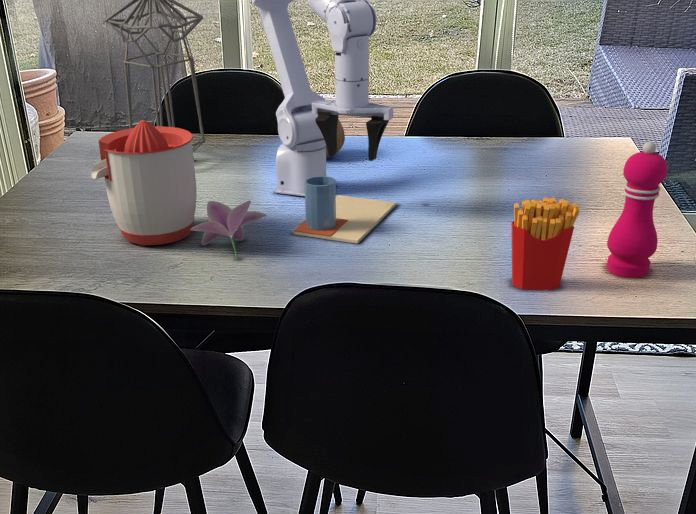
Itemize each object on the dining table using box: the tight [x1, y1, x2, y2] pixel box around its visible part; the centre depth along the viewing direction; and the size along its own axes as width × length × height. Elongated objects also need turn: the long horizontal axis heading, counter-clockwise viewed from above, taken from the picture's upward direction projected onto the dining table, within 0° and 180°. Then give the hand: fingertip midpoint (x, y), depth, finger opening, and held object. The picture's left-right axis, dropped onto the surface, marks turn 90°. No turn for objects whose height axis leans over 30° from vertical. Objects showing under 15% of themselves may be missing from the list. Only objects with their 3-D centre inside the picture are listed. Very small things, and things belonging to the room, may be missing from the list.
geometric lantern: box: [102, 0, 206, 160], centre depth 172 cm, size 16×16×35 cm
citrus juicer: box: [91, 119, 198, 247], centre depth 140 cm, size 16×17×20 cm
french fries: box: [510, 196, 581, 291], centre depth 122 cm, size 9×4×13 cm, turn 85°
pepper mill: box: [605, 141, 668, 279], centre depth 124 cm, size 7×7×20 cm
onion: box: [326, 118, 346, 160], centre depth 180 cm, size 10×10×10 cm
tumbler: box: [304, 175, 337, 230], centre depth 144 cm, size 5×5×8 cm
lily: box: [190, 200, 267, 260], centre depth 136 cm, size 12×12×10 cm
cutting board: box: [292, 194, 397, 245], centre depth 150 cm, size 12×20×1 cm, turn 157°
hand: (352, 157), depth 148 cm, fingers open, 7 cm apart
